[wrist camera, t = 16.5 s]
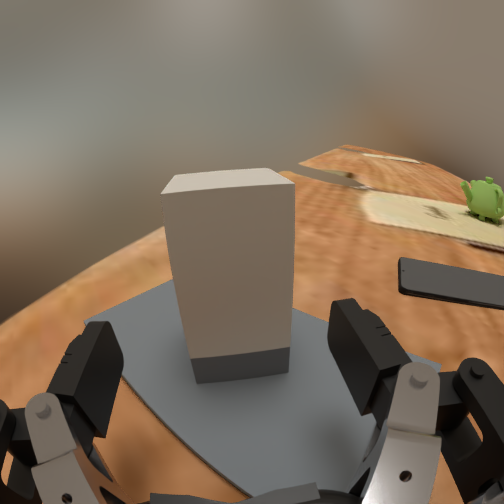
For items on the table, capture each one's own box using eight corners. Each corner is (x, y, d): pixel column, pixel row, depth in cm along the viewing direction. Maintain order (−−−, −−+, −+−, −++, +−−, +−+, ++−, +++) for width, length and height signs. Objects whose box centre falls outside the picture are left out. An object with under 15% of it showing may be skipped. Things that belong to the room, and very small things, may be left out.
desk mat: (438, 371, 13) (441, 364, 13) (344, 548, 5) (348, 547, 5) (199, 272, 27) (198, 267, 27) (85, 327, 19) (83, 321, 19)
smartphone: (531, 310, 16) (399, 287, 22) (528, 318, 16) (397, 296, 22) (511, 276, 21) (399, 255, 27) (509, 283, 22) (397, 263, 28)
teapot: (502, 230, 36) (509, 185, 32) (453, 213, 45) (458, 171, 41) (509, 221, 41) (515, 183, 37) (468, 207, 50) (472, 171, 47)
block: (295, 183, 10) (288, 372, 14) (267, 167, 15) (270, 320, 19) (160, 193, 10) (196, 384, 14) (174, 175, 14) (196, 328, 18)
